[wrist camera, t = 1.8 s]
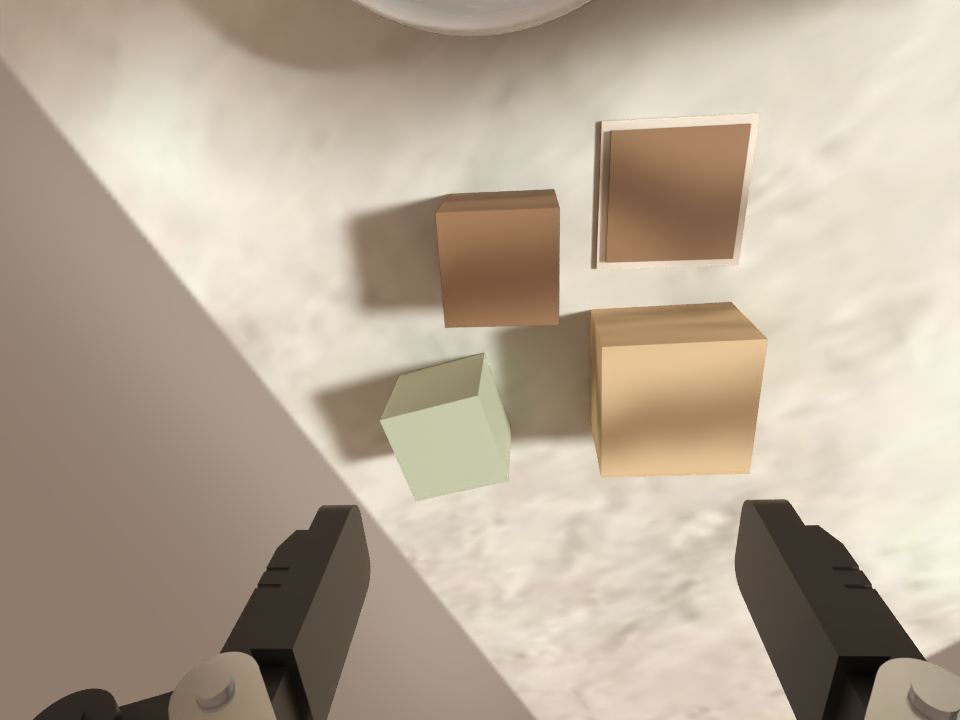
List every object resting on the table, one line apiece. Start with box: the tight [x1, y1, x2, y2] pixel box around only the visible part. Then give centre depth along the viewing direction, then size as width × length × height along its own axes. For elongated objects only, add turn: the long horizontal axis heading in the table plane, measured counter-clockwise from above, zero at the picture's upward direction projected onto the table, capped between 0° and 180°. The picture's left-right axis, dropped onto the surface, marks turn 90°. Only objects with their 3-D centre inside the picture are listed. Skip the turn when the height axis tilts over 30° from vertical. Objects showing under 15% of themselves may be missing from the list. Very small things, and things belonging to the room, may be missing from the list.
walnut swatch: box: [596, 113, 760, 269], centre depth 27 cm, size 7×7×1 cm
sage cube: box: [379, 353, 511, 501], centre depth 30 cm, size 5×5×5 cm
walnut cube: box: [435, 189, 560, 328], centre depth 26 cm, size 5×5×5 cm
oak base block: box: [591, 302, 768, 477], centre depth 29 cm, size 7×7×5 cm
